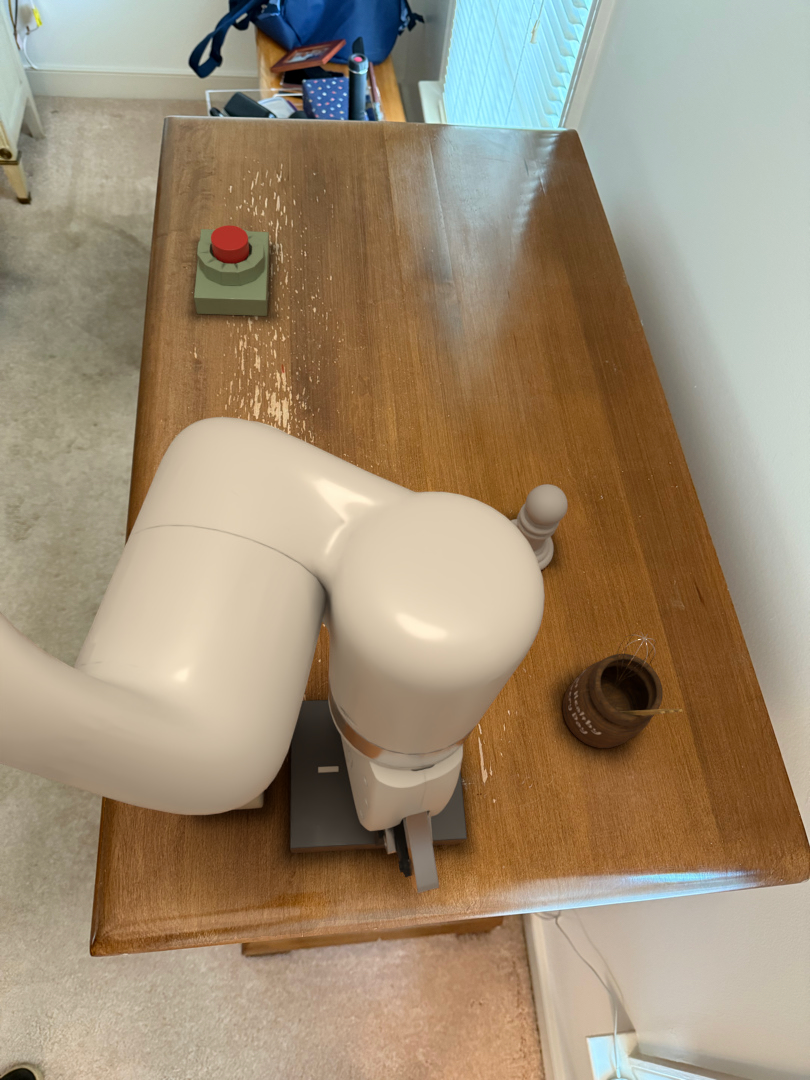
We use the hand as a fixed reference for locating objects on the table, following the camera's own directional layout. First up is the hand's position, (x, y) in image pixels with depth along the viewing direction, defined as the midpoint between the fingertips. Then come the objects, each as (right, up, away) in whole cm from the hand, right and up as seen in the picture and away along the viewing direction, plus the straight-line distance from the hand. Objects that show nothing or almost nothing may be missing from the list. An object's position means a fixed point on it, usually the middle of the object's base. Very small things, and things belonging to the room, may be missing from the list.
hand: (381, 761), depth 50 cm
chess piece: (+12, +14, +16) cm, 24 cm away
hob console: (-1, -2, +5) cm, 5 cm away
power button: (-16, +44, +24) cm, 53 cm away
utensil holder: (+17, +1, +9) cm, 19 cm away
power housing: (-16, +42, +27) cm, 53 cm away
